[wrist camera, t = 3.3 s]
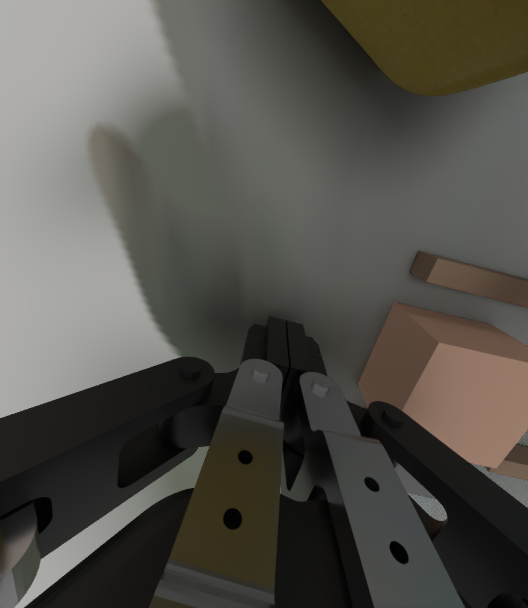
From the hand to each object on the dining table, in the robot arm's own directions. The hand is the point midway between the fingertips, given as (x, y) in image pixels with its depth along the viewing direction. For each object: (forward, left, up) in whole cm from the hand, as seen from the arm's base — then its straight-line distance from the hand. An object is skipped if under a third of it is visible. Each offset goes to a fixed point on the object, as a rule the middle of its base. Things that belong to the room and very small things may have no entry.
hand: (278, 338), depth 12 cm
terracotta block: (-8, 0, -2) cm, 8 cm away
